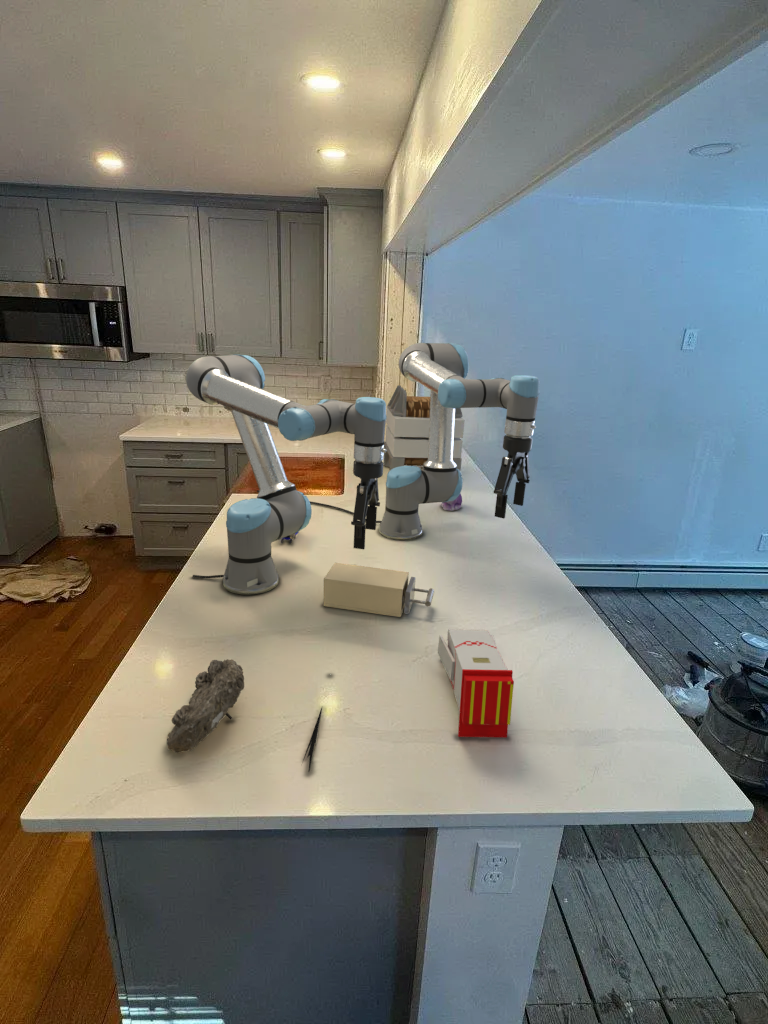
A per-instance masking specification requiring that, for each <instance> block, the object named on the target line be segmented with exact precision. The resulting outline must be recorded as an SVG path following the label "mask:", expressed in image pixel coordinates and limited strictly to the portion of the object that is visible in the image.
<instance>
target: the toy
mask: <svg viewBox="0 0 768 1024" xmlns="http://www.w3.org/2000/svg"><path fill="white" fill-rule="evenodd" d="M446 640H447V643H446V641H445V639H444V636H443V635H442V634H439V637H438V646H437V656H438V657H439V659H440V661H441V663H442V666H443V668H444V670H445V672H446V674H447V677H448V679H449V681H450V684H451V687H452V690H453V693H454V697H455V701H456V705H457V708H458V711H459V714H458V715H459V716H458V730H457V731H458V732H457V737H458V738H508V731H509V726H510V725H511V717H512V707H513V697H514V696H513V695H514V684H515V680H514V679H513V673H514V671H513V670H512V669H508V667H507V665H506V662H505V661H504V659H503V658H502V655H501V653H500V651H499V649H498V647H497V643H496V639H495V637H494V635H493V634H491V632H490V631H489V629H467V628H466V629H465V628H463V629H461V628H460V629H459V628H448V630H447V639H446Z"/></svg>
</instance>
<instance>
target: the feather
mask: <svg viewBox="0 0 768 1024" xmlns="http://www.w3.org/2000/svg"><path fill="white" fill-rule="evenodd" d="M329 675H330V676H331V675H332V674H331V673H330V674H329ZM322 710H323V707H321V708H320V710H319V713H318V716H317V719H316V723H315V725H314V728H313V731H312V733H311V737H310V739H309V742H308V745H307V748H306V751H305V754H304V757H303V760H302V763H301V767H302V765H303V763H304V761H305V758H308V759H309V760H308V762H307V763H308V764H307V766H308V771H310V770H311V766H312V765H311V764H312V760H313V757H315V756H314V755H315V751H316V749H315V746H317V739H318V733H319V729H320V722H321V717H322V712H323V711H322ZM313 754H314V755H313ZM306 755H307V757H306Z"/></svg>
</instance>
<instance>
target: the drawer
mask: <svg viewBox="0 0 768 1024" xmlns="http://www.w3.org/2000/svg"><path fill="white" fill-rule="evenodd" d="M416 579H417V578H416V577H415V576H411V577H410V579H409V581H408V587H407V590H406V595H405V586H404V589H403V594H402V602H403V600H404V597H405V606H404V609H403V614H407V615H409V614H410V612H411V609H412V606H413V604H421V605H424V606H426V607H428V608H430V607H431V605H432V602H433V598H434V595H435V589H433V588H429V589H423V588H416ZM415 592H417V593H426V594H427V595H426V597H425V600H420V599H415V594H416V593H415Z"/></svg>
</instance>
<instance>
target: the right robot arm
mask: <svg viewBox="0 0 768 1024" xmlns="http://www.w3.org/2000/svg"><path fill="white" fill-rule="evenodd" d="M398 368H399V371H400V373H401V375H402V376H403V377H404V378H406V379H407V380H408V381H411V382H414V383H419V384H421V385H422V386H424V387H425V388H427V389H428V390H430V396H429V397H430V420H429V447H428V460H427V461H426V462H425V463H424V466H422V467H423V469H421V467H420V466H407V465H404V466H400V467H396V468H393V469H391V470H390V469H389V470H388V472H387V475H386V480H385V481H386V482H385V504H384V505H385V507H384V508H385V509H384V513H383V515H382V519H381V520H376V524H379V527H378V533H379V534H380V535H381V536H382V537H385V538H387V539H389V540H395V541H410V540H415V539H418V538H420V537H421V536H422V535H423V525H422V524H421V518H420V515H419V507H420V506H419V505H423V504H434V503H441V504H442V503H444V502H448V501H453V500H455V499H456V498H457V497H458V496H459V495H460V493H462V489H463V485H464V484H463V481H464V479H463V474H462V471H461V472H460V471H459V470H458V469H457V465H456V464H455V463H454V462H453V442H454V422H455V409H456V408H461V409H470V408H471V409H472V408H474V409H476V408H502V409H505V410H506V416H505V424H504V431H503V432H504V436H503V442H502V449H503V450H504V451H506V452H507V456H502V458H501V462H500V463H501V464H500V468H499V470H498V471H499V472H498V474H497V477H496V482H495V486H494V489H493V494H495V495H496V499H495V508H494V517H496V518H500V519H503V520H504V519H505V518H506V514H507V513H506V512H507V506H508V505H507V504H508V497H509V495H508V491H509V488H510V486H511V483H512V480H513V478H514V475H515V476H516V480H517V481H515V486H514V494H513V502H512V504H513V505H515V506H520V507H524V502H525V501H524V500H525V493H526V487H527V486H526V484H530V478H531V477H530V475H531V474H530V459H529V455H530V452H531V451H532V448H533V447H532V446H533V441H534V439H533V435H534V431H535V429H536V428H537V426H536V425H535V422H536V418H537V417H536V416H537V410H538V404H539V396H540V383H541V381H540V379H539V378H538V377H537V376H533V375H526V374H525V375H524V374H523V375H521V374H519V375H516V374H515V375H512V376H511V378H510V380H509V379H506V378H503V377H492V378H489V379H488V378H485V379H483V378H481V379H477V378H474V379H473V378H470V379H469V378H467V376H468V374H469V370H470V362H469V356H468V353H467V351H466V350H465V348H464V347H463V346H462V345H461V344H458V343H451V342H442V343H441V342H417V343H413V344H410V345H409V346H408V347H405V348H404V350H403V351H402V352H401V353H400V356H399V359H398ZM256 492H257V493H259V490H258V489H257V490H256ZM309 501H310V500H309ZM310 504H311V505H317V506H322V507H327V508H331V509H335V510H338V511H342V512H345V513H348V514H351V515H352V516H354V511H351V510H349V509H345V508H342V507H339V506H335V505H331V504H327V503H321V502H316V501H310ZM365 522H366V519H365Z"/></svg>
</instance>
